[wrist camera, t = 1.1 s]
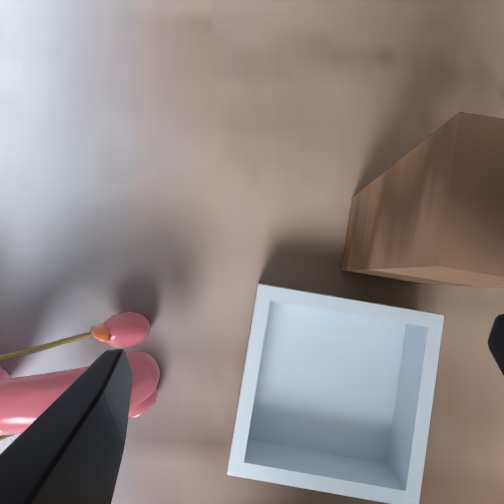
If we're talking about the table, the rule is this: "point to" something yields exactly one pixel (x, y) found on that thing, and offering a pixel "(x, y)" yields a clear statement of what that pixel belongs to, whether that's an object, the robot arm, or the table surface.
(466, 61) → the table surface
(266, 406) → the bin
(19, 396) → the anatomy model
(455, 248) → the walnut block
